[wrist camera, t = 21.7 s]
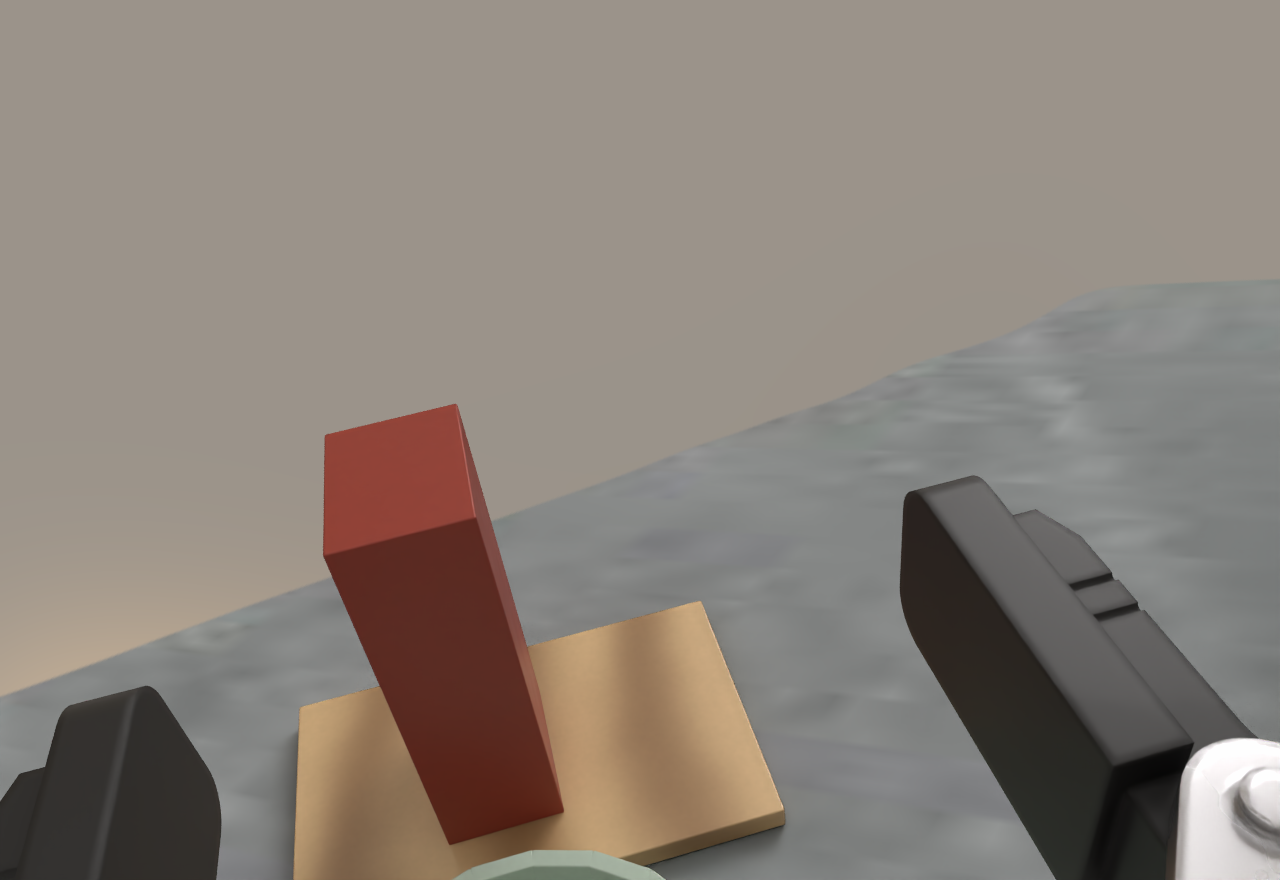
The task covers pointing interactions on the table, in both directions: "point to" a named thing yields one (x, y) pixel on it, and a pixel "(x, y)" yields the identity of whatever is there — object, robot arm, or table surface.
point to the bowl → (559, 867)
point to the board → (583, 755)
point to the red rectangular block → (439, 619)
